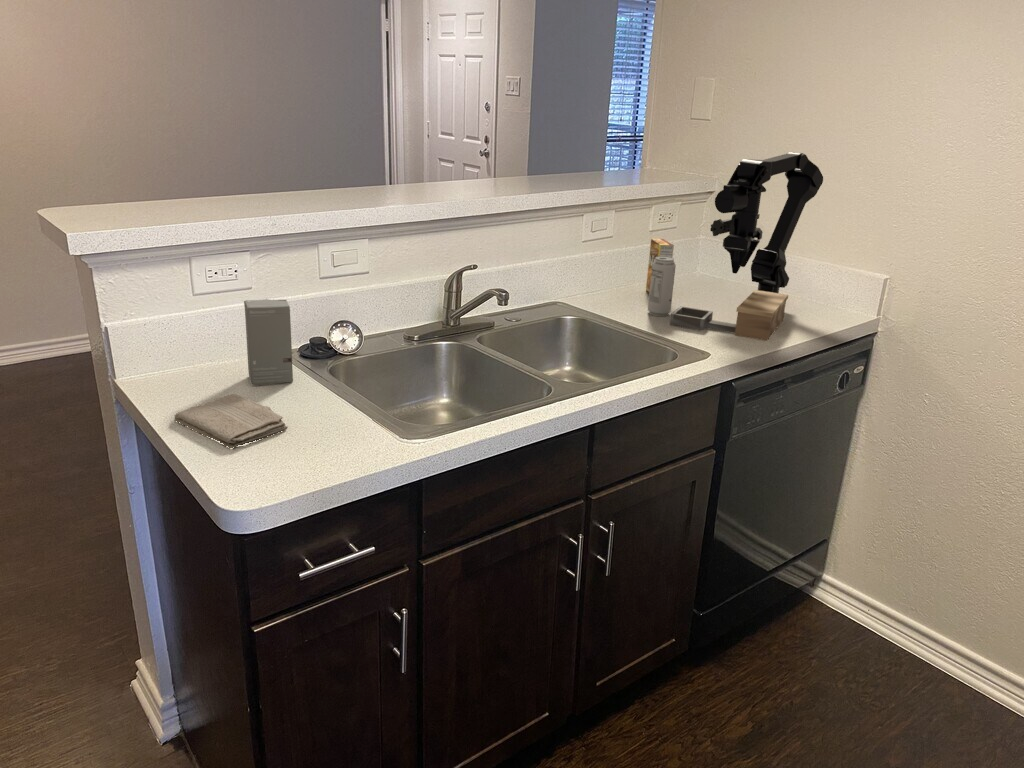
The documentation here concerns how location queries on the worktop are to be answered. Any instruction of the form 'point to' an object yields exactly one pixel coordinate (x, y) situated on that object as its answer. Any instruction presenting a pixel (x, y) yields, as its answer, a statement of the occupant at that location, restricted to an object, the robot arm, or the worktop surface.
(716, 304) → the worktop surface
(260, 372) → the skincare box
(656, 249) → the candy box
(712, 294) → the worktop surface
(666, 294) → the energy drink can
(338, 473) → the worktop surface
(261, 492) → the worktop surface
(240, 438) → the washcloth
